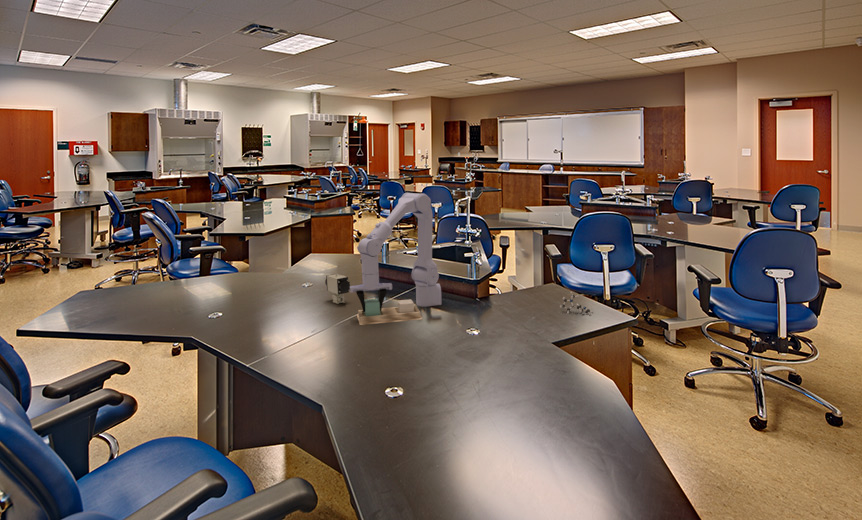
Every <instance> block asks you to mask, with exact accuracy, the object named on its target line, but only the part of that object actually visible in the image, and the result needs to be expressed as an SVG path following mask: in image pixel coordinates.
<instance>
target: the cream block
mask: <svg viewBox="0 0 862 520" xmlns="http://www.w3.org/2000/svg"><path fill="white" fill-rule="evenodd" d="M396 303H397V307H398V314H399V313H410V312H414V305H415V303H414V301H413V300H412V299H401V300H397V301H396Z"/></svg>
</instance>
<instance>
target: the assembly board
mask: <svg viewBox="0 0 862 520" xmlns="http://www.w3.org/2000/svg"><path fill="white" fill-rule="evenodd" d="M357 313H358V314H356V317H357V320H358V324H359V326H367V325H376V324H386V323H395V322H396V323H397V322H406V321H407V322H408V321H418V320H424V318H423V316H422V312H421V311H420V309H419V308H418V307H417V304H416V305H415V304H414V312H410V313H399V314H398V306H394V307H392V306H391V307H382V309H381V311H380V315H377V316H365V314H364V312H363V309H358V312H357Z"/></svg>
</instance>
